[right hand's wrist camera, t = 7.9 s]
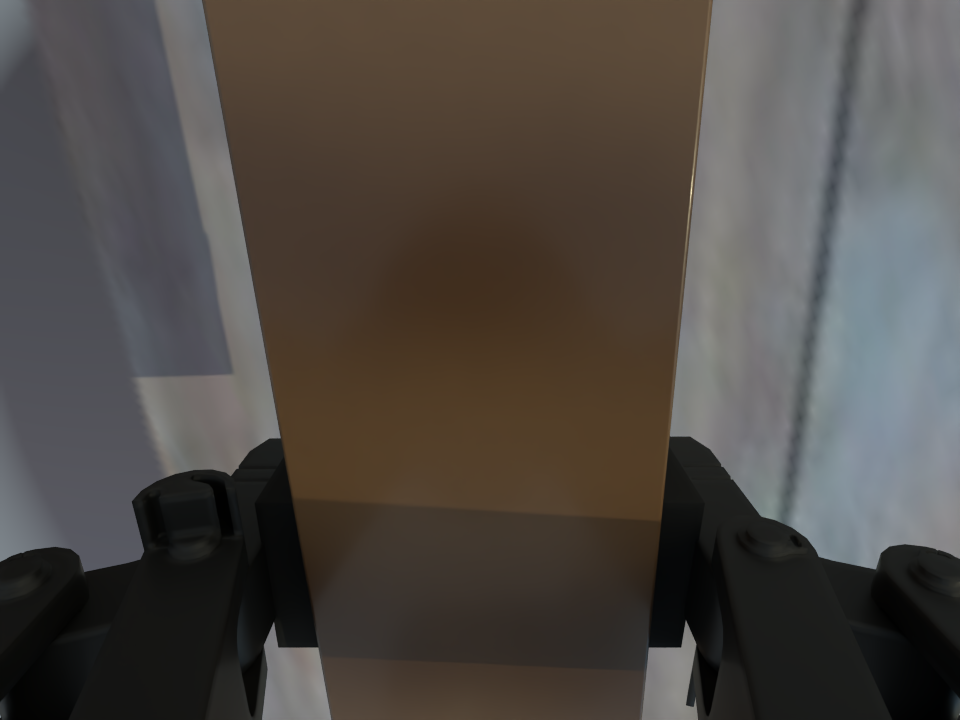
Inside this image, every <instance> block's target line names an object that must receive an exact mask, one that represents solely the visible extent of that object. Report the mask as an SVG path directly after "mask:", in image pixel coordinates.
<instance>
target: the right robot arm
mask: <svg viewBox="0 0 960 720" xmlns="http://www.w3.org/2000/svg"><path fill="white" fill-rule="evenodd" d="M132 504H133V508H134V512H135V516H136V520H137V524H138V527H139V531H140V535H141V539H142V543H143V547H144V553H143V555H142V558H141V560H137V561H134V562H130V563H126V564H121V565H116V566H111V567H107V568H102V569H97V570H92V571H87V572H84V570H83V567H82V564H81V560H80V557H79V555H77V554H76V553H75V552H74V551H72V550H71V549H65V548H59V547H51V548H43V549H35V550H30V551H26V552H24V553H19V554H16V555H13V556H11V557H9V558H7V559H5V560H3V561H1V562H0V716H1V718H0V720H262V714H263V705H264V696H265V687H266V679H267V670H268V669H267V662H266V656H265V650H264V643H265V641H266V639H267V636H268V634H269V632H270V629H271V627H272V625H273V623H274V624H275V630H276V636H277V642H278V647H318V642H317V636H316V631H315V625H314V619H313V614H312V608H311V603H310V597H309V592H308V586H307V581H306V575H305V569H304V564H303V558H302V553H301V547H300V542H299V536H298V531H297V525H296V519H295V514H294V508H293V503H292V497H291V492H290V486H289V480H288V475H287V469H286V464H285V458H284V453H283V447H282V442H281V439H268V440H267V441H265V442H264V443H262V444H260V445H259V446H257V447H256V448H254V449H253V450H251V451H250V452H249V453H248V455H247V456H246V457H245V459H244V460H243V461H242V462H241V464H240V465H239V469H236V470H235V472H234V473H233V474H232V476H229V475H228V474H227V473H225V472H220V471H216V470H193V471H188V472H183V473H178V474H174V475H172V476H169V477H167V478H164V479H161V480H159V481H156V482H155V483H153V484H152V485H150V486H148V487H147V488H145V489H144V490H142V491H141V492H140V493H139V494H138V495H137V496H136V497H135V499H134V500H133V501H132ZM685 621H687V623H688V625H689V628H690V630H691V632H692V635H693V637H694V639H695V641H696V644H697V645H696V650H695V656H694V661H693V667H692V673H691V678H690V684H689V690H688V696H687V702H686V705H687V706H692V707H694V702H695V697H696V704H697V713H698V720H960V715H959V714H960V559H958V558H956V557H954V556H953V555H951V554H949V553H946V552H943V551H940V550H936V549H933V548H929V547H923V546H914V545H906V544H904V545H897V546H890V547H888V548H887V549H886V550H885V551H883V552H882V553H881V555H880V558H879V562H878V565H877V568H876V570H875V569H870V568H865V567H861V566H856V565H851V564H846V563H841V562H836V561H832V560H828V559H824V558H821V557H818V554H817V552H816V550H815V549H814V547H813V546H812V545H811V543H810V542H809V541H808V539H807V538H805V537H804V536H803V535H801V534H800V533H799V532H797V531H796V530H794V529H793V528H791V527H789V526H787V525H784V524H782V523H780V522H778V521H775V520H772V519H768V518H764V517H761V516H760V515H759V513H758V512H757V511H756V509H755V508H754V507H753V506H752V504H751V503H750V502H749V500H748V499H747V498H746V496H745V495H744V494H743V492H742V491H741V490H740V488H739V487H738V486H737V484H736V483H735V482H734V481H733V480H731V479H730V475H729V474H728V473H727V471H726V470H725V469H724V467H721V463H720V462H719V461H718V460H717V458H716V457H715V456H714V454H713V453H712V452H711V450H710V449H708V448H707V447H705V446H704V445H702V444H701V443H699V442H697V441H696V440H694V439H693V438H691V437H669V448H668V458H667V468H666V478H665V488H664V498H663V508H662V518H661V528H660V538H659V548H658V559H657V569H656V579H655V589H654V599H653V609H652V619H651V629H650V639H649V647H681V645H682V639H683V633H684V627H685Z"/></svg>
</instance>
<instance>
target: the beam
mask: <svg viewBox="0 0 960 720" xmlns="http://www.w3.org/2000/svg"><path fill="white" fill-rule="evenodd" d="M202 2H203V8H204V13H205V19H206V25H207V30H208V36H209V41H210V47H211V52H212V58H213V64H214V69H215V75H216V80H217V86H218V91H219V97H220V102H221V108H222V114H223V119H224V125H225V130H226V136H227V141H228V147H229V152H230V158H231V164H232V169H233V175H234V180H235V186H236V191H237V197H238V202H239V208H240V214H241V219H242V225H243V230H244V236H245V241H246V247H247V253H248V258H249V264H250V269H251V275H252V280H253V286H254V291H255V297H256V303H257V308H258V314H259V319H260V325H261V330H262V336H263V341H264V347H265V353H266V358H267V364H268V369H269V375H270V380H271V386H272V392H273V397H274V403H275V408H276V414H277V419H278V425H279V430H280V436H281V442H282V447H283V453H284V458H285V464H286V469H287V475H288V480H289V486H290V492H291V497H292V503H293V508H294V514H295V519H296V525H297V531H298V536H299V542H300V547H301V553H302V558H303V564H304V569H305V575H306V581H307V586H308V592H309V597H310V603H311V608H312V614H313V619H314V625H315V631H316V636H317V642H318V647H319V653H320V658H321V664H322V669H323V675H324V681H325V686H326V692H327V697H328V703H329V708H330V714H331V720H642V710H643V700H644V690H645V680H646V670H647V660H648V649H649V639H650V629H651V619H652V609H653V599H654V589H655V579H656V569H657V559H658V548H659V538H660V528H661V518H662V508H663V498H664V488H665V478H666V468H667V458H668V448H669V437H670V427H671V417H672V407H673V397H674V387H675V377H676V367H677V357H678V347H679V336H680V326H681V316H682V306H683V296H684V286H685V276H686V266H687V256H688V246H689V235H690V225H691V215H692V205H693V195H694V185H695V175H696V165H697V155H698V145H699V135H700V124H701V114H702V104H703V94H704V84H705V74H706V64H707V54H708V44H709V34H710V23H711V13H712V3H713V0H202Z"/></svg>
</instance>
